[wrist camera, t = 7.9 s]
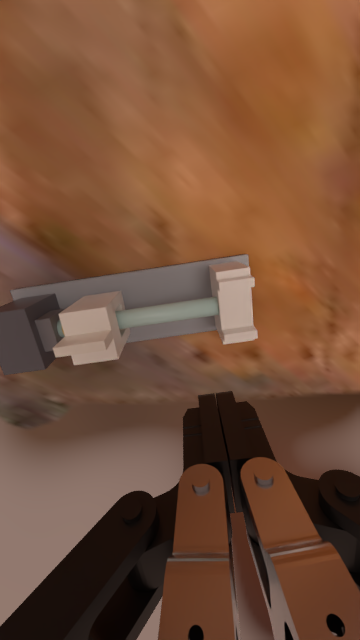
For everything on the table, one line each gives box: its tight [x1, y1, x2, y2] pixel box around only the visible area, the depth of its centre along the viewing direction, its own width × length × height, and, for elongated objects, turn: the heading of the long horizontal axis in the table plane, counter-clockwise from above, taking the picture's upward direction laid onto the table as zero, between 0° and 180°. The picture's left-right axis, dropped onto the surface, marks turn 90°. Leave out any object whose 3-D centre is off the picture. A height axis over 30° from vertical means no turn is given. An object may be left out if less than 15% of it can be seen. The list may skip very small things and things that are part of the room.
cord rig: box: [0, 254, 258, 375], centre depth 27 cm, size 26×8×7 cm, turn 98°
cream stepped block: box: [53, 291, 130, 365], centre depth 24 cm, size 4×5×9 cm
